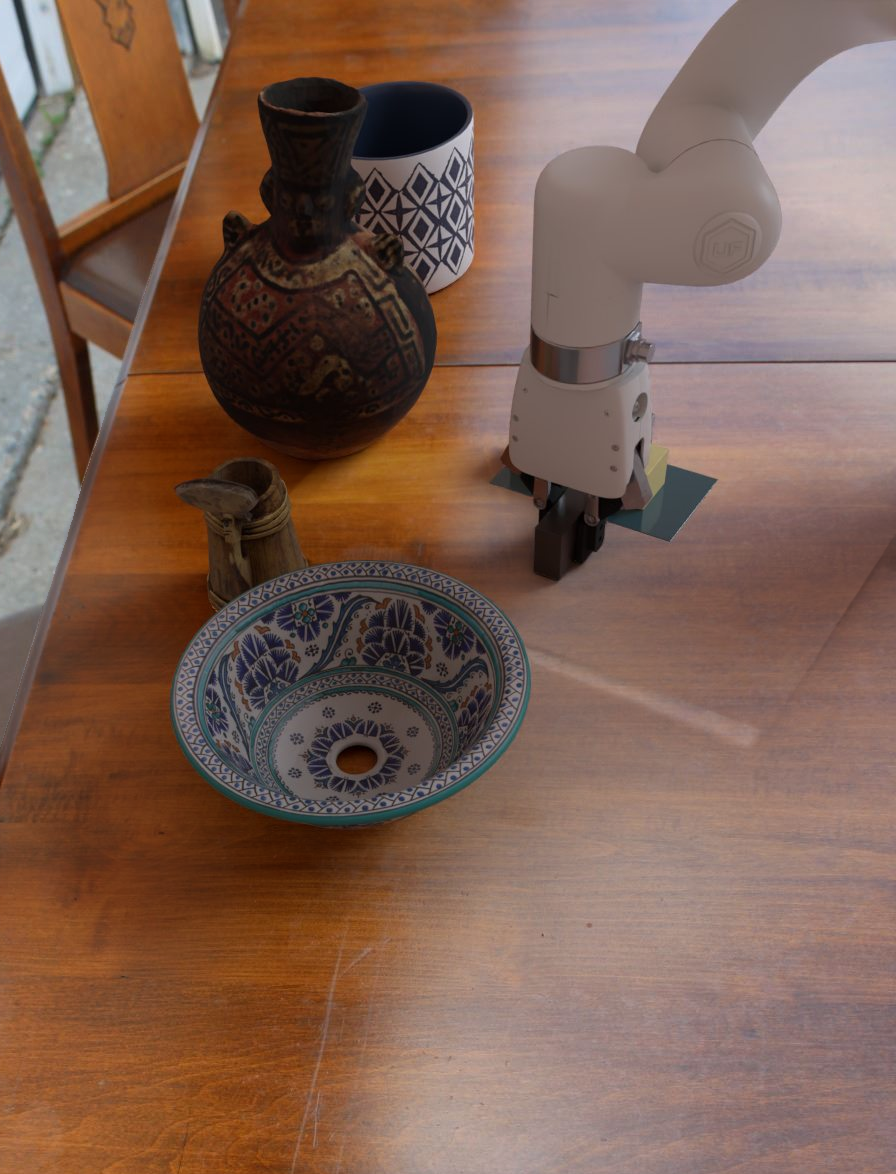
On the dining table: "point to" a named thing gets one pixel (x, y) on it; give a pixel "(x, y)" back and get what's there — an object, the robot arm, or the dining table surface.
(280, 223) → the ceramic vessel
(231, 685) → the bowl
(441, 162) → the planter
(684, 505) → the flat slate board
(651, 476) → the butter slice
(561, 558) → the knife
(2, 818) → the dining table surface
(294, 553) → the wooden mug
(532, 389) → the robot arm
